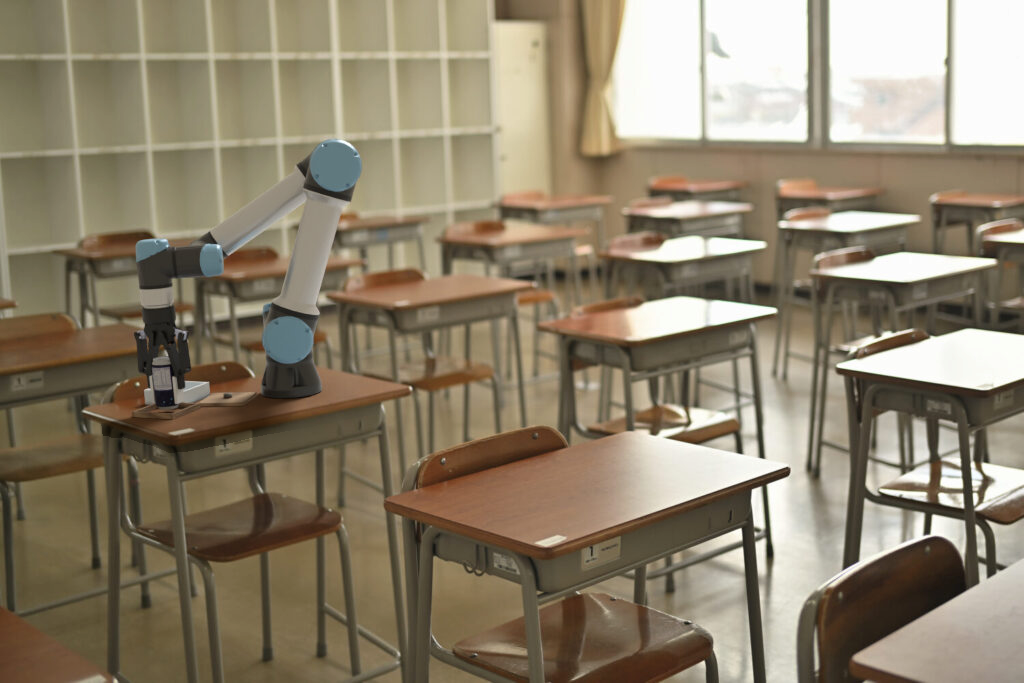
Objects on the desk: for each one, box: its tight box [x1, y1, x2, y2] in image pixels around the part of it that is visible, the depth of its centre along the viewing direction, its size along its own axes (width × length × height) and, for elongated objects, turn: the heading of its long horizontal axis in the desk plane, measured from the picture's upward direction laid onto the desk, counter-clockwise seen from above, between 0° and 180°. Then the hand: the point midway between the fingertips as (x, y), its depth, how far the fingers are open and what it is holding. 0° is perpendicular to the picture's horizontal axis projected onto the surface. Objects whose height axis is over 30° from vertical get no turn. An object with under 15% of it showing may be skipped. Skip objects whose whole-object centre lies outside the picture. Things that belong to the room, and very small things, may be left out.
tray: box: [143, 380, 211, 406], centre depth 293 cm, size 11×11×4 cm
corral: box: [131, 402, 201, 420], centre depth 281 cm, size 11×11×1 cm
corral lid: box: [198, 391, 257, 407], centre depth 291 cm, size 11×11×2 cm
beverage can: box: [152, 355, 180, 411], centre depth 280 cm, size 6×6×12 cm
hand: (168, 401), depth 281 cm, fingers closed on beverage can, 6 cm apart
